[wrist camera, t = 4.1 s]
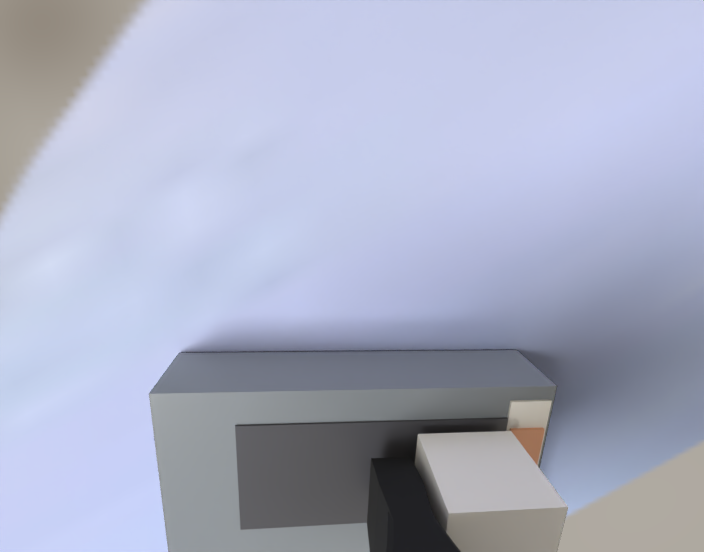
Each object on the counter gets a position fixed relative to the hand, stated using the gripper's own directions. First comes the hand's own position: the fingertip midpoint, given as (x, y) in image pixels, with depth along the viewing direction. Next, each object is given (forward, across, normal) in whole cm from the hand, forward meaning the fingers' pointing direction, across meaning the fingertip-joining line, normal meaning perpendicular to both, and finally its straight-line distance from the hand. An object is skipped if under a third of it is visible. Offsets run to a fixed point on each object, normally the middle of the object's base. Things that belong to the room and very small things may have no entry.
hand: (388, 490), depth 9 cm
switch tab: (0, -2, 0) cm, 2 cm away
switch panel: (+3, +1, +4) cm, 4 cm away
